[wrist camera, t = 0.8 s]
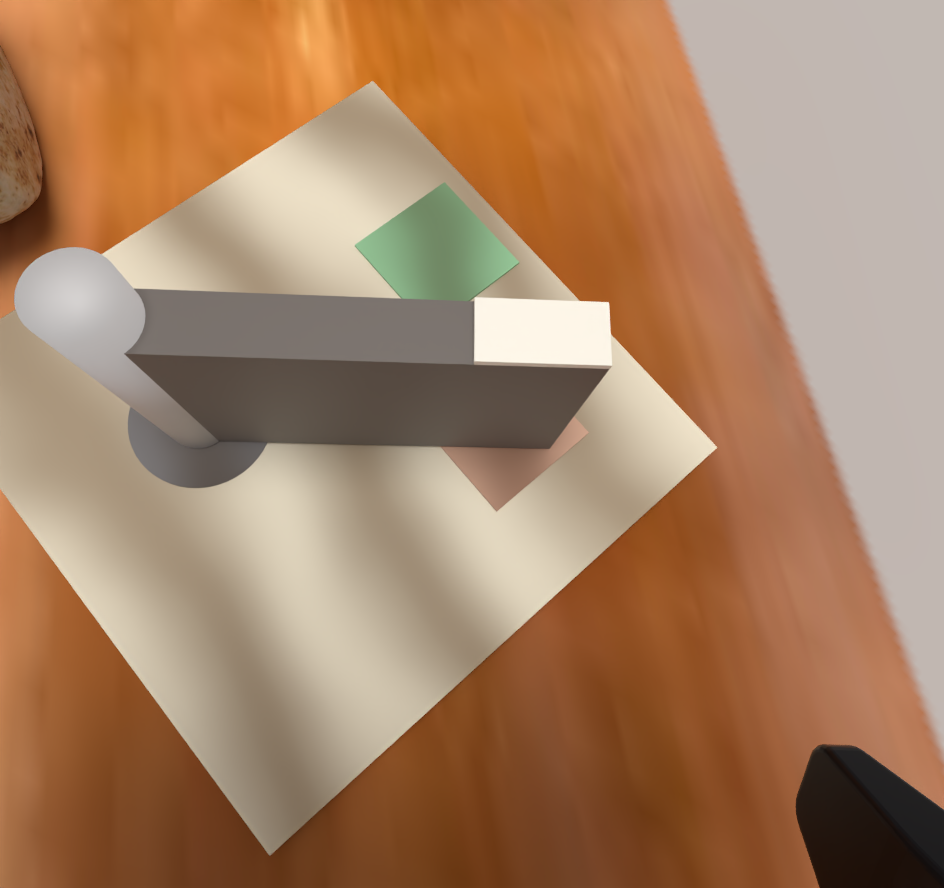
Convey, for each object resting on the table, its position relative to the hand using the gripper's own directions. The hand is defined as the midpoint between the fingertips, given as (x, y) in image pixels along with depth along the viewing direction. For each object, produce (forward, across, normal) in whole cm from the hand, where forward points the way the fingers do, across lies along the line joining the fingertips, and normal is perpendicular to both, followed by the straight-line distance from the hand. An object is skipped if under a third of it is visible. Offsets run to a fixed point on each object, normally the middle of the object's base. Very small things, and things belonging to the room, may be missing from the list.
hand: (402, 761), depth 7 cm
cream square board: (+16, +3, +2) cm, 16 cm away
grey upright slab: (+15, +2, +2) cm, 15 cm away
